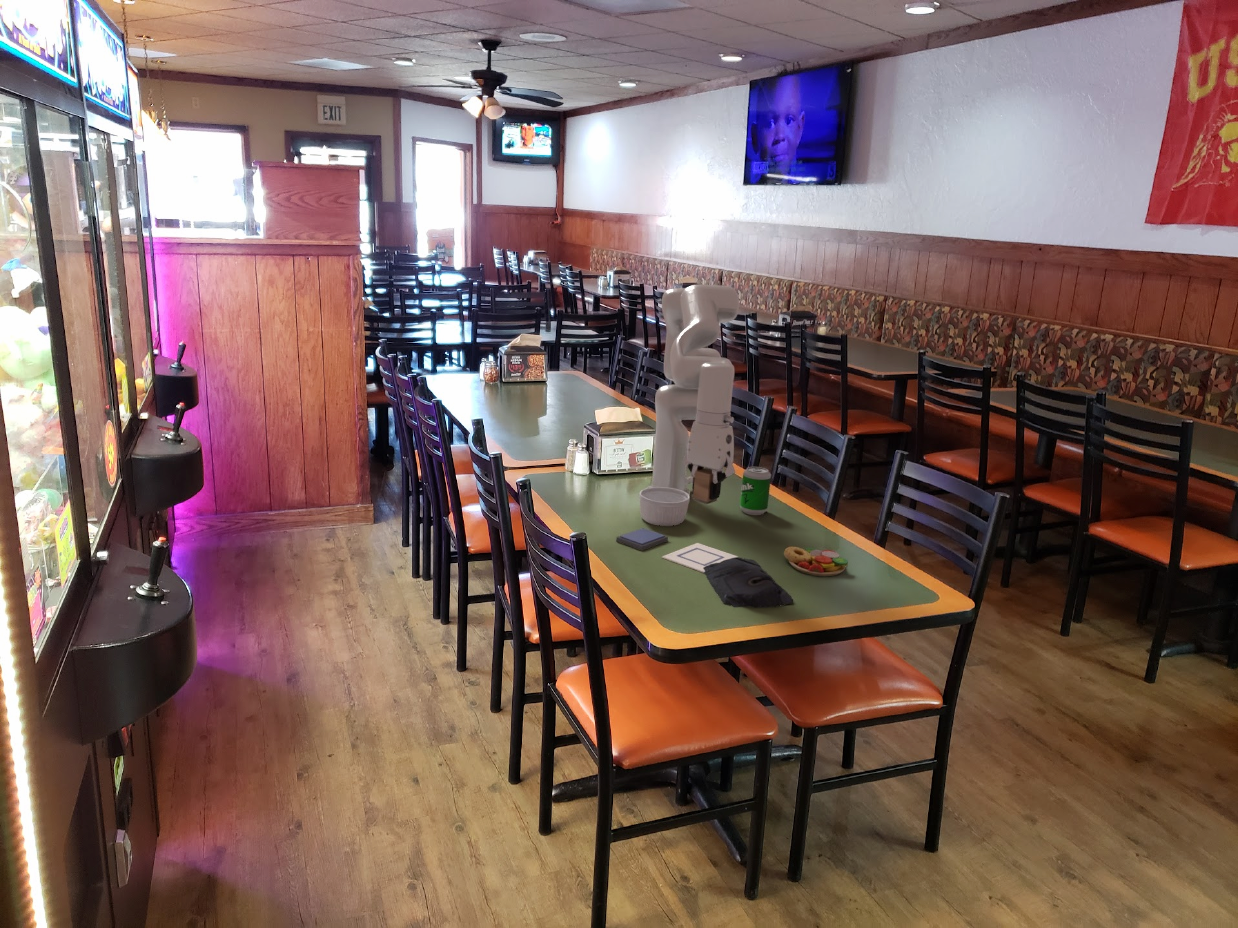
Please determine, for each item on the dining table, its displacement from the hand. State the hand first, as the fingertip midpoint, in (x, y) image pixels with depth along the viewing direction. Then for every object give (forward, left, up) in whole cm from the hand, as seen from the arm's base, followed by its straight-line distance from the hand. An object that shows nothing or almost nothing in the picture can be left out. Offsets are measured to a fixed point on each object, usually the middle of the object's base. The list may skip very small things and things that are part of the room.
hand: (705, 495), depth 203 cm
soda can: (-40, -11, -15) cm, 44 cm away
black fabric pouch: (+6, +17, -16) cm, 24 cm away
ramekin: (-15, -23, -16) cm, 32 cm away
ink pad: (+2, -16, -15) cm, 22 cm away
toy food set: (-17, +21, -16) cm, 31 cm away
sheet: (0, 0, -15) cm, 15 cm away
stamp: (0, 0, -1) cm, 1 cm away
